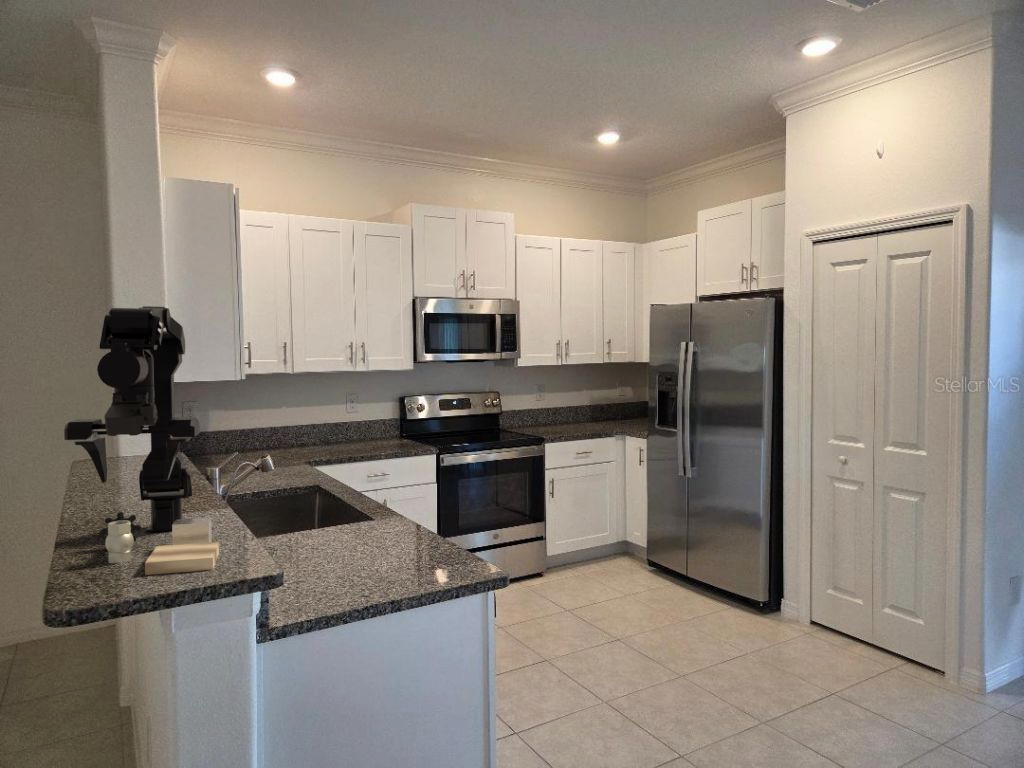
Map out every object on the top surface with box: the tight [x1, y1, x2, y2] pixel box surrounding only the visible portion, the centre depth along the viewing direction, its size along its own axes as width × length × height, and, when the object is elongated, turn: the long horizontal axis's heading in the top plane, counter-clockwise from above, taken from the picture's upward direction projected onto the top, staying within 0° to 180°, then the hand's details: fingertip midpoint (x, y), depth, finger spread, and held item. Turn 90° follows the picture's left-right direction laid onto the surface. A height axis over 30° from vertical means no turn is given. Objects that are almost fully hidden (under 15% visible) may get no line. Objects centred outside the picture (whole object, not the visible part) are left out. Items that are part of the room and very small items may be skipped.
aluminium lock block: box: [171, 517, 213, 545], centre depth 126 cm, size 4×6×5 cm, turn 107°
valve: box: [99, 511, 142, 564], centre depth 122 cm, size 7×7×12 cm
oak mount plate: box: [144, 541, 220, 576], centre depth 117 cm, size 10×10×2 cm
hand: (135, 480), depth 113 cm, fingers open, 9 cm apart
